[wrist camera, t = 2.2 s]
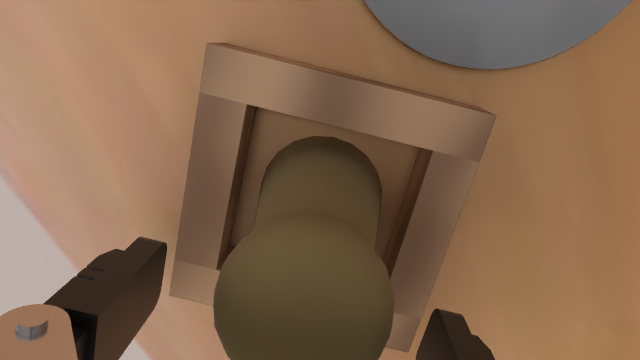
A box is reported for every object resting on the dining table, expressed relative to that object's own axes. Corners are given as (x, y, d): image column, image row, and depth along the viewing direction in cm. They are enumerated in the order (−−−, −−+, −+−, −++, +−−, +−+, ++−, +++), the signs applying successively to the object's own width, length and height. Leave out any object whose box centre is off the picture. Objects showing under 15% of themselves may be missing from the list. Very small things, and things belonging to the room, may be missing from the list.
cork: (367, 260, 22) (386, 452, 12) (252, 237, 22) (171, 410, 12) (394, 149, 20) (448, 261, 10) (270, 124, 20) (192, 210, 10)
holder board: (478, 107, 20) (496, 115, 17) (402, 322, 23) (408, 352, 21) (223, 42, 19) (206, 42, 17) (186, 270, 23) (169, 295, 21)
